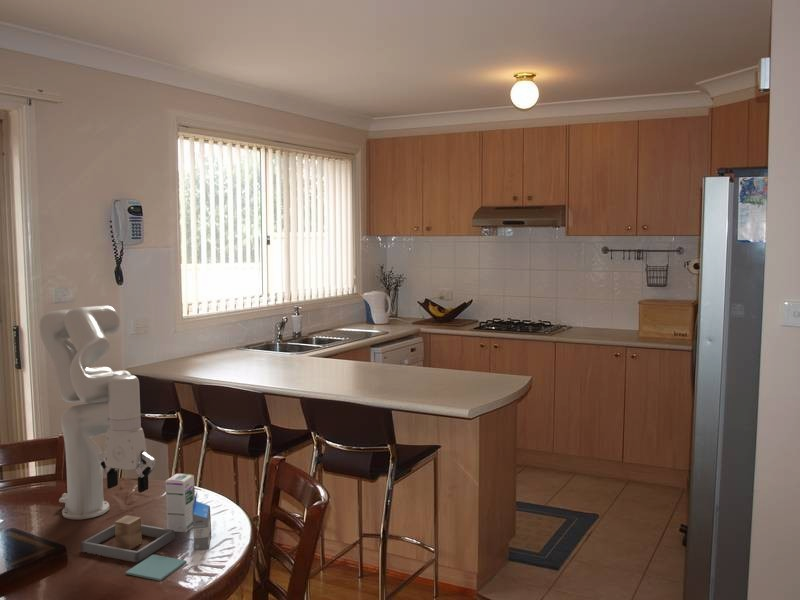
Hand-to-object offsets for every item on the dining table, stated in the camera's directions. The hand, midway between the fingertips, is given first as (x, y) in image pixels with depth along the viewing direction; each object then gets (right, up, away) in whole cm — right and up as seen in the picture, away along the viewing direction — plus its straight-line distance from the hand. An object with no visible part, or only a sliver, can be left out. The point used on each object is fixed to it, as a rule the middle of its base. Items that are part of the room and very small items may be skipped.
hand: (127, 488), depth 186 cm
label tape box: (+18, -15, +4) cm, 24 cm away
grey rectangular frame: (0, -15, +2) cm, 15 cm away
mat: (+11, -17, -11) cm, 22 cm away
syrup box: (+10, -14, +13) cm, 22 cm away
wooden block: (0, -15, +2) cm, 15 cm away
